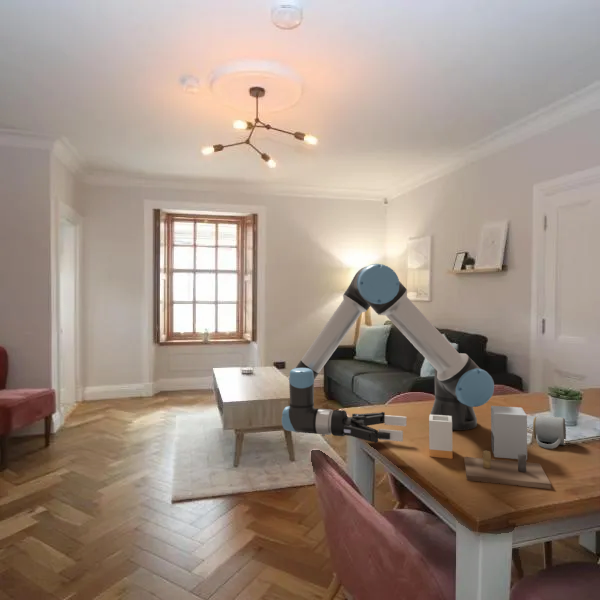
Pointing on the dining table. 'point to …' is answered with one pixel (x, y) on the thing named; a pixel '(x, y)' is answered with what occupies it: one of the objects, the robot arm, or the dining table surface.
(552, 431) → the ceramic mug
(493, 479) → the pin board
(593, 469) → the dining table surface
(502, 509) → the dining table surface
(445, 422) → the sleeve
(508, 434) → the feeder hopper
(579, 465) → the dining table surface
